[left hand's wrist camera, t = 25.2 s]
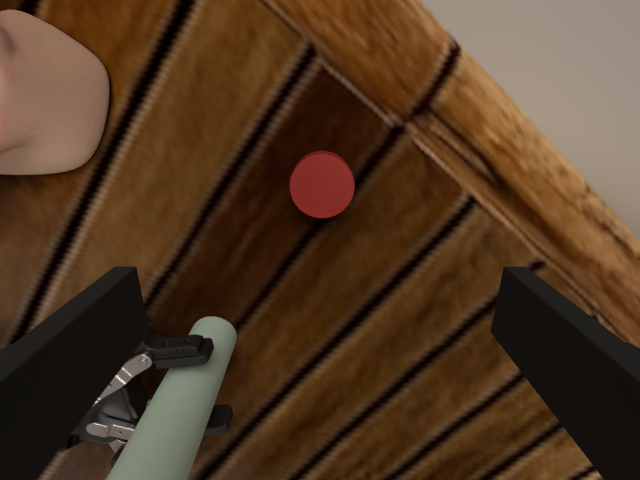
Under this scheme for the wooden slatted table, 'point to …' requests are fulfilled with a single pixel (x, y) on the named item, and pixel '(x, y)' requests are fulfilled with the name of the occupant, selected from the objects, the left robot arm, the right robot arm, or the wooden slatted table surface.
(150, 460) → the pale green slim bottle
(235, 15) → the wooden slatted table surface
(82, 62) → the anatomical model
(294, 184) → the lid
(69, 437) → the right robot arm
